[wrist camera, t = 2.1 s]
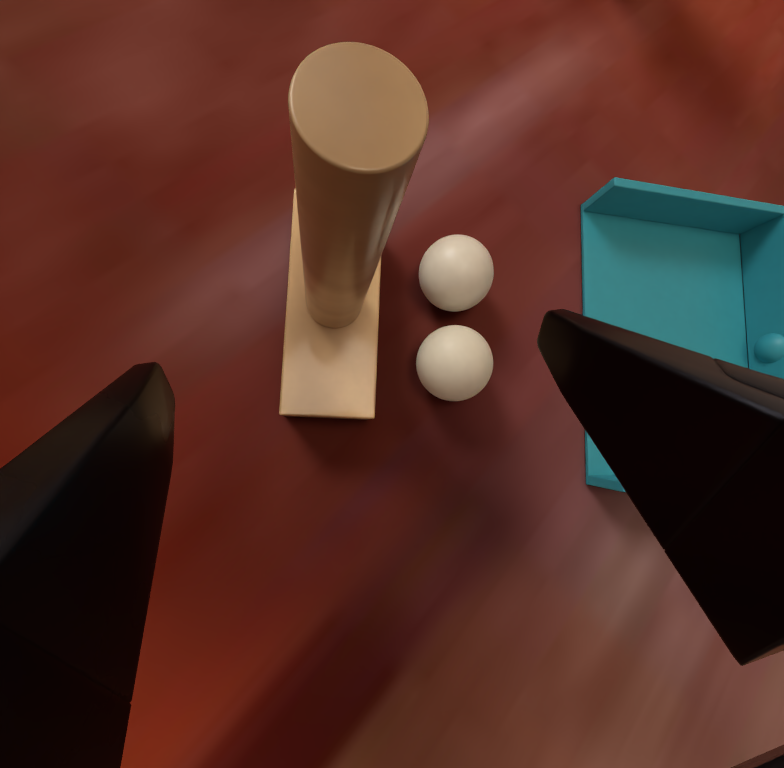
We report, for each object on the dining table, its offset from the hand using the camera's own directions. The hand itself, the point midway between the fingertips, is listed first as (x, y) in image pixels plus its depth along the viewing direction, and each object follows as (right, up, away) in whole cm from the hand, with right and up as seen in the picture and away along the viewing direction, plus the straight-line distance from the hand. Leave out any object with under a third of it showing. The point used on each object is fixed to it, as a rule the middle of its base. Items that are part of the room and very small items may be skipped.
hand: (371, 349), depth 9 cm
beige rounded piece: (+3, 0, +11) cm, 12 cm away
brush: (-2, +3, +11) cm, 11 cm away
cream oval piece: (+3, +4, +12) cm, 13 cm away
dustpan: (+20, +1, +15) cm, 25 cm away
